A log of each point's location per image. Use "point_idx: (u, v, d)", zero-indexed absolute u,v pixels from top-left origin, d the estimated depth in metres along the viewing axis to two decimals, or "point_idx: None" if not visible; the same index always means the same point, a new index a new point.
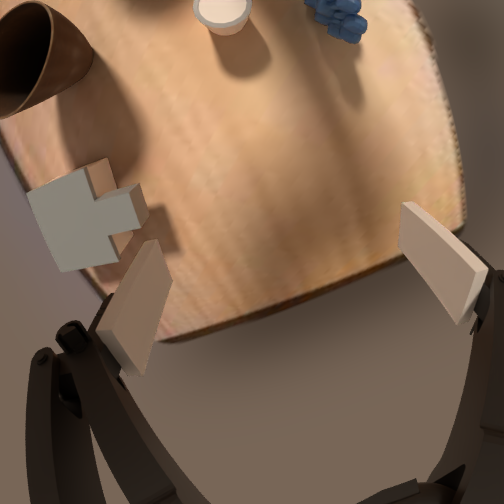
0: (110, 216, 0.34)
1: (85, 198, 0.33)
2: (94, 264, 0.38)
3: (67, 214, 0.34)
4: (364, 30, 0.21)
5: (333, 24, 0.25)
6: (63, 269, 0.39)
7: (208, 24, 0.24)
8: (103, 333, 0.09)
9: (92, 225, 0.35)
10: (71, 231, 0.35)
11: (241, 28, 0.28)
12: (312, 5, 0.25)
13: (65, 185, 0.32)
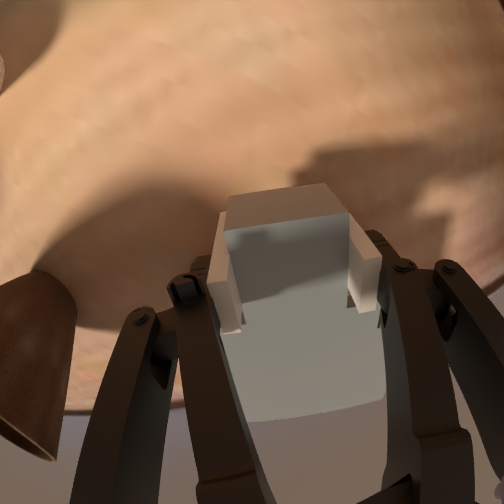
0: (295, 298, 0.13)
1: (241, 340, 0.16)
2: None
3: (273, 377, 0.18)
4: None
5: None
6: (379, 395, 0.20)
7: None
8: (215, 285, 0.10)
9: (312, 337, 0.16)
10: (313, 376, 0.18)
11: None
12: None
13: None
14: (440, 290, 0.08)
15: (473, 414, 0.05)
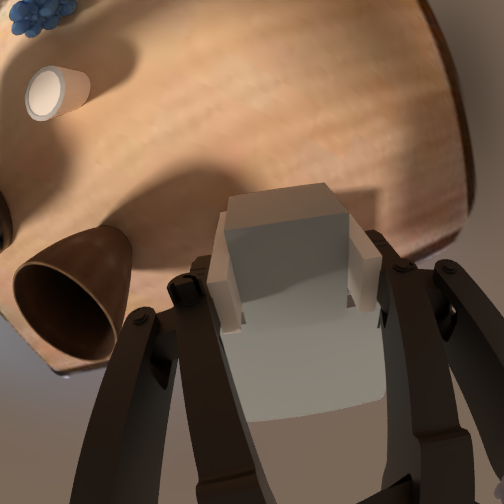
0: (295, 297, 0.13)
1: (241, 340, 0.16)
2: None
3: (273, 377, 0.18)
4: None
5: None
6: (379, 395, 0.20)
7: (61, 99, 0.22)
8: (215, 285, 0.10)
9: (312, 336, 0.16)
10: (313, 376, 0.18)
11: (81, 72, 0.25)
12: (55, 20, 0.19)
13: None
14: (440, 290, 0.08)
15: (473, 414, 0.05)
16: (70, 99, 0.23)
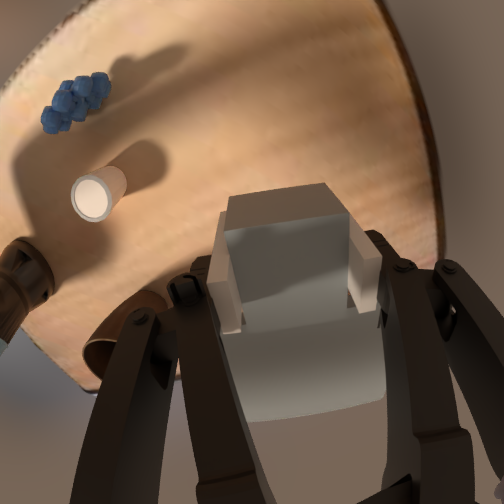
0: (295, 298, 0.13)
1: (241, 340, 0.16)
2: None
3: (273, 377, 0.18)
4: (84, 79, 0.22)
5: (95, 95, 0.28)
6: (379, 395, 0.20)
7: (109, 208, 0.33)
8: (215, 285, 0.10)
9: (312, 337, 0.16)
10: (313, 376, 0.18)
11: (117, 170, 0.36)
12: None
13: None
14: (440, 290, 0.08)
15: (473, 414, 0.05)
16: (115, 203, 0.35)
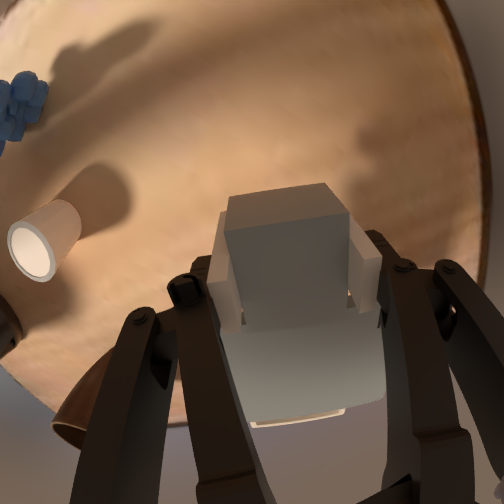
0: (295, 298, 0.13)
1: (241, 340, 0.16)
2: None
3: (273, 378, 0.18)
4: None
5: (26, 105, 0.16)
6: (379, 395, 0.20)
7: (53, 267, 0.21)
8: (215, 285, 0.10)
9: (312, 337, 0.16)
10: (313, 376, 0.18)
11: (66, 207, 0.25)
12: (19, 132, 0.19)
13: None
14: (440, 290, 0.08)
15: (473, 414, 0.05)
16: (63, 257, 0.23)
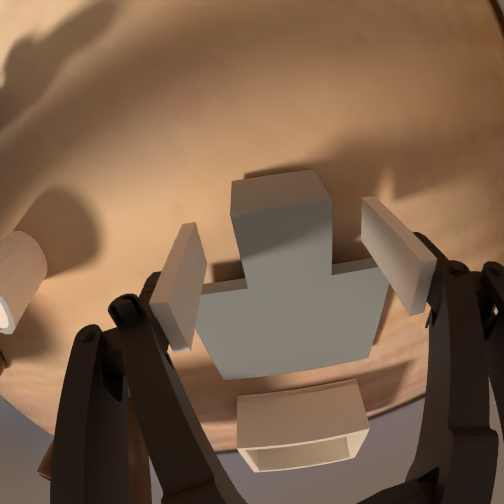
0: (288, 266, 0.16)
1: (243, 302, 0.19)
2: (379, 308, 0.20)
3: (271, 335, 0.21)
4: None
5: None
6: (365, 354, 0.25)
7: (12, 322, 0.15)
8: (157, 306, 0.10)
9: (303, 299, 0.19)
10: (305, 334, 0.22)
11: (25, 243, 0.18)
12: None
13: (213, 330, 0.21)
14: (489, 291, 0.07)
15: (500, 413, 0.05)
16: (24, 306, 0.17)
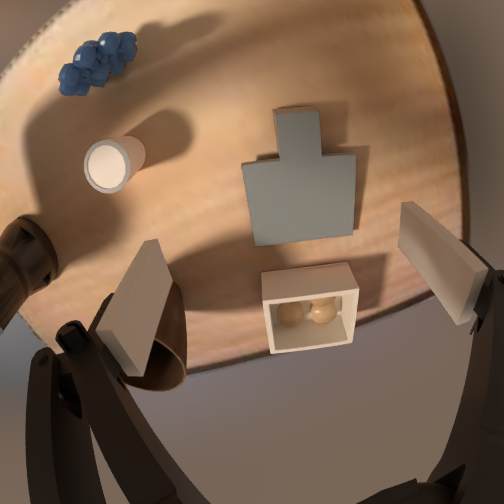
0: (300, 144, 0.31)
1: (275, 170, 0.34)
2: (353, 186, 0.35)
3: (289, 199, 0.37)
4: (112, 34, 0.19)
5: (120, 58, 0.25)
6: (349, 230, 0.40)
7: (127, 178, 0.30)
8: (103, 333, 0.09)
9: (307, 171, 0.34)
10: (309, 201, 0.37)
11: (136, 140, 0.33)
12: (104, 79, 0.28)
13: (256, 192, 0.36)
14: None
15: None
16: (133, 174, 0.32)
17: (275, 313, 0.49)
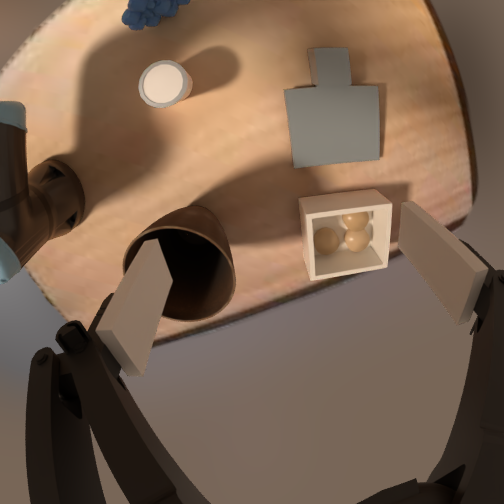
0: (334, 72, 0.32)
1: (313, 95, 0.35)
2: (377, 113, 0.37)
3: (325, 122, 0.38)
4: None
5: (178, 0, 0.26)
6: (376, 154, 0.41)
7: (183, 92, 0.31)
8: (103, 333, 0.09)
9: (340, 97, 0.35)
10: (342, 124, 0.38)
11: None
12: (158, 19, 0.28)
13: (297, 114, 0.37)
14: None
15: None
16: (186, 93, 0.33)
17: None
